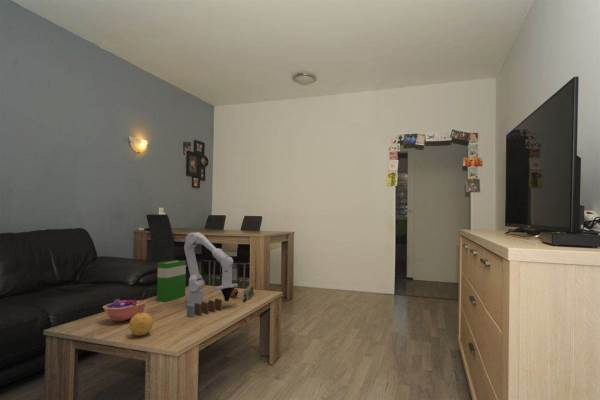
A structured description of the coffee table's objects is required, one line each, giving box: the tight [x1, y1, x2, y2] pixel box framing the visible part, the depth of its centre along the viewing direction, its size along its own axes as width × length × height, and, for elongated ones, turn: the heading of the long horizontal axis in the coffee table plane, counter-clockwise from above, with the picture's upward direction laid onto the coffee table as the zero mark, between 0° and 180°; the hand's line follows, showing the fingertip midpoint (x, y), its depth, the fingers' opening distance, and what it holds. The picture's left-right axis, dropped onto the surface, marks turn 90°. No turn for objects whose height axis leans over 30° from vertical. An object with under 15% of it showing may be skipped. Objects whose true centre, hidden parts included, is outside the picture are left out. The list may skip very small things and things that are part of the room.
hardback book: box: [156, 259, 187, 303], centre depth 228 cm, size 18×7×24 cm, turn 158°
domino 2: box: [194, 303, 202, 317], centre depth 191 cm, size 1×5×6 cm, turn 49°
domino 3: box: [201, 300, 209, 315], centre depth 195 cm, size 1×5×6 cm, turn 49°
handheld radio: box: [242, 284, 254, 303], centre depth 231 cm, size 7×3×25 cm
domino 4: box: [207, 299, 216, 313], centre depth 198 cm, size 1×5×6 cm, turn 49°
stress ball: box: [128, 311, 154, 337], centre depth 159 cm, size 10×10×10 cm
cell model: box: [102, 298, 146, 323], centre depth 181 cm, size 17×20×11 cm
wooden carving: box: [230, 287, 239, 298], centre depth 234 cm, size 16×5×10 cm, turn 49°
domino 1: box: [186, 304, 195, 318], centre depth 188 cm, size 1×5×6 cm, turn 50°
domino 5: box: [214, 298, 223, 312], centre depth 202 cm, size 1×5×6 cm, turn 49°
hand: (226, 301), depth 206 cm, fingers closed
